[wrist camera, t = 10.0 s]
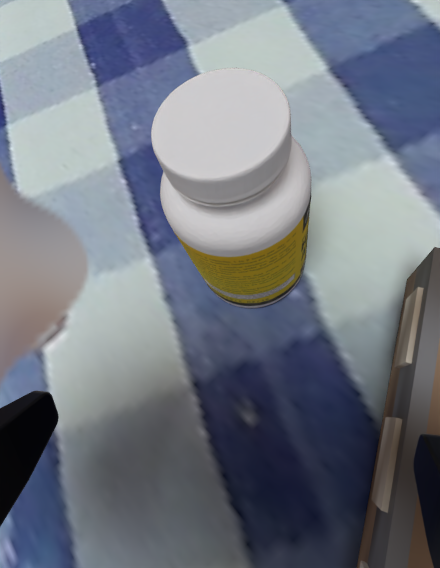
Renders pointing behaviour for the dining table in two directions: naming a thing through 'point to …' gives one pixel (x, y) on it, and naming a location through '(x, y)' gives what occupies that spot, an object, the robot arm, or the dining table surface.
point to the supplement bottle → (235, 184)
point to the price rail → (406, 429)
